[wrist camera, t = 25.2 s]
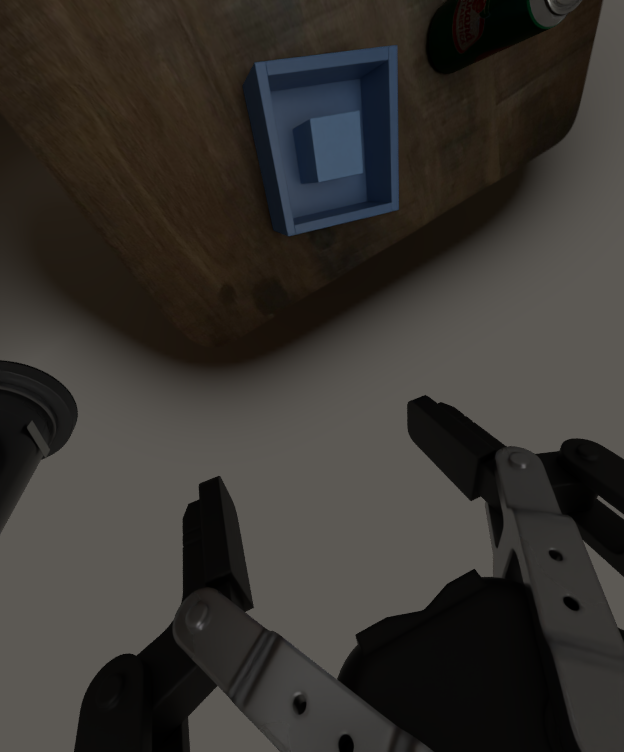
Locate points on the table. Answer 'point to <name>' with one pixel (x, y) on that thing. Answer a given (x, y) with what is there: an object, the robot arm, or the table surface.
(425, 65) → the table surface
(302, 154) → the blue block
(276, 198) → the blue bin
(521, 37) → the soda can
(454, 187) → the table surface
